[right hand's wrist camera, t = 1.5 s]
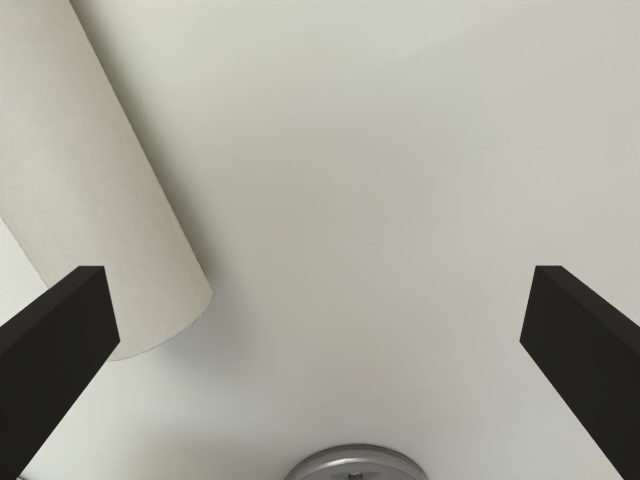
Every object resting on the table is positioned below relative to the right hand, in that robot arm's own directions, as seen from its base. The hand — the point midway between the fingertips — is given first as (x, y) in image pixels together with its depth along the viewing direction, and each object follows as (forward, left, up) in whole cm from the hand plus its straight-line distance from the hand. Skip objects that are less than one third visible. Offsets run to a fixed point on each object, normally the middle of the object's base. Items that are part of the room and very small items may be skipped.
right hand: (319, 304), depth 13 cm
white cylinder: (-8, +14, -17) cm, 24 cm away
